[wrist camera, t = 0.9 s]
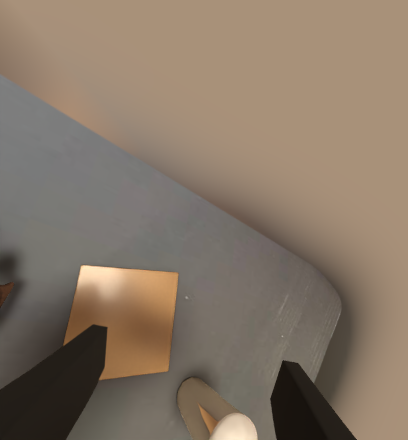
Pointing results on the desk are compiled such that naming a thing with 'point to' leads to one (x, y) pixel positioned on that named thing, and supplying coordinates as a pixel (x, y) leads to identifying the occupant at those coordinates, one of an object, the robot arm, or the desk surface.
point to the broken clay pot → (5, 291)
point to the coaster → (127, 316)
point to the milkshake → (211, 414)
